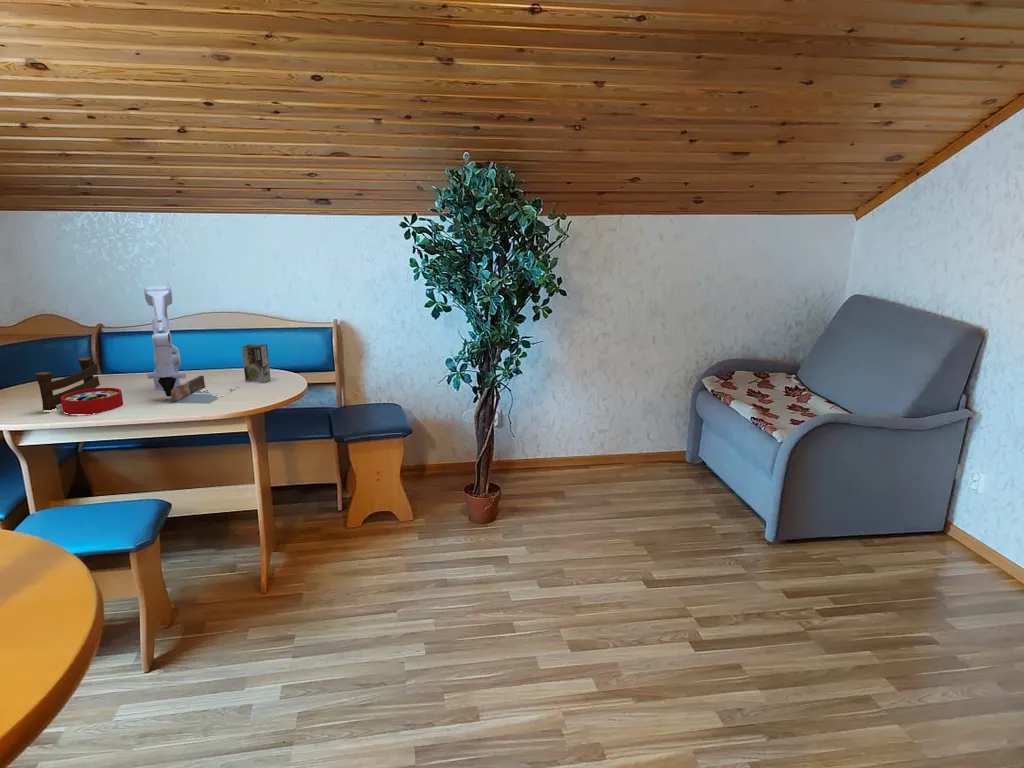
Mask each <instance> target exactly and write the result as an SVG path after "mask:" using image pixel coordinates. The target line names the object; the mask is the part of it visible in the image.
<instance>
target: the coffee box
mask: <svg viewBox="0 0 1024 768" xmlns="http://www.w3.org/2000/svg"><path fill="white" fill-rule="evenodd" d="M241 353H242V364H243V370H244V371H243V372H244V379H245V382H246V383H259V382H265V383H267V382H269V381H271V380H270V379H271V373H270V363H269V362H270V361H269V351H268V344H258V343H257V344H246V345H244V346H241ZM268 380H269V381H268ZM266 381H267V382H266Z"/></svg>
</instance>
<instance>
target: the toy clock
mask: <svg viewBox="0 0 1024 768" xmlns="http://www.w3.org/2000/svg"><path fill="white" fill-rule="evenodd" d="M61 403H62V404H61V407H62V412H63V411H64V412H65V413H68V414H93V413H101V414H102V413H105V412H109V411H113V410H116V409H118V408H121V407H122V406H123V405H124V400H123V393H122V389H120V388H117V387H96V388H93V389H85V390H80V391H75V392H71V393H68V394H65V395H63V396H62V397H61Z"/></svg>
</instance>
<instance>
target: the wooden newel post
mask: <svg viewBox="0 0 1024 768" xmlns="http://www.w3.org/2000/svg"><path fill="white" fill-rule="evenodd" d="M189 384H190V383H189V382H187V381H186V382H183V383H180V385H179V386H177V387H175V388H173V389H172V390H171V396H170V398H171V397H172V402H176V401H177V400H179V399H181V398H183V397H185V396H187V395H189V394H190V387H189Z"/></svg>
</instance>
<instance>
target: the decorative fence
mask: <svg viewBox="0 0 1024 768" xmlns="http://www.w3.org/2000/svg"><path fill="white" fill-rule="evenodd" d="M77 361H78V364H79V366H80V369H81V371H78V372H75V373H73V374H72V375H69V376H67V377H64V378H60V379H56V380H53V373H52V372H47V371H46V372H45V371H44V372H43V371H42V372H36V373H35V374H34V376H35V380H36V381H37V383H38V386H39V391H40V397H41V402H42V411H43V410H52V409H55V408H57V406H59V405H62V403H61V397H62V396H63V395H65V394H68V393H71V392H75V391H80V390H85V389H93V388H99V386H101V383H100V380H99V376H98V375H96V376H94V374H96V373H98V372H99V371H98V363H94V362H93V361H94V358H93V357H88V356H86V357H82V358H77ZM93 363H94V364H93ZM52 380H53V381H52ZM81 381H83V383H82V384H79V385H77V386H73V387H71V388H70V389H66V390H65V391H62V392H60V393H59V392H58V393H56V394H54V392H53V391H57V390H60V389H63V388H66V387H69V386H71V385H75V384H76V383H79V382H81ZM57 409H58V408H57Z"/></svg>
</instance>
